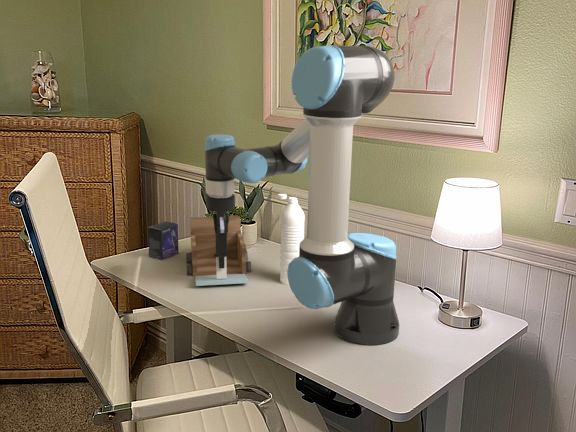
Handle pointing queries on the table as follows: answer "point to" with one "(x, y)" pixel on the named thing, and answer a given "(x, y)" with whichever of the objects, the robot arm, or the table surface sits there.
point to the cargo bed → (205, 248)
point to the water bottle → (290, 234)
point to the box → (163, 240)
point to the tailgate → (214, 281)
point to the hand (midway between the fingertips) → (221, 277)
